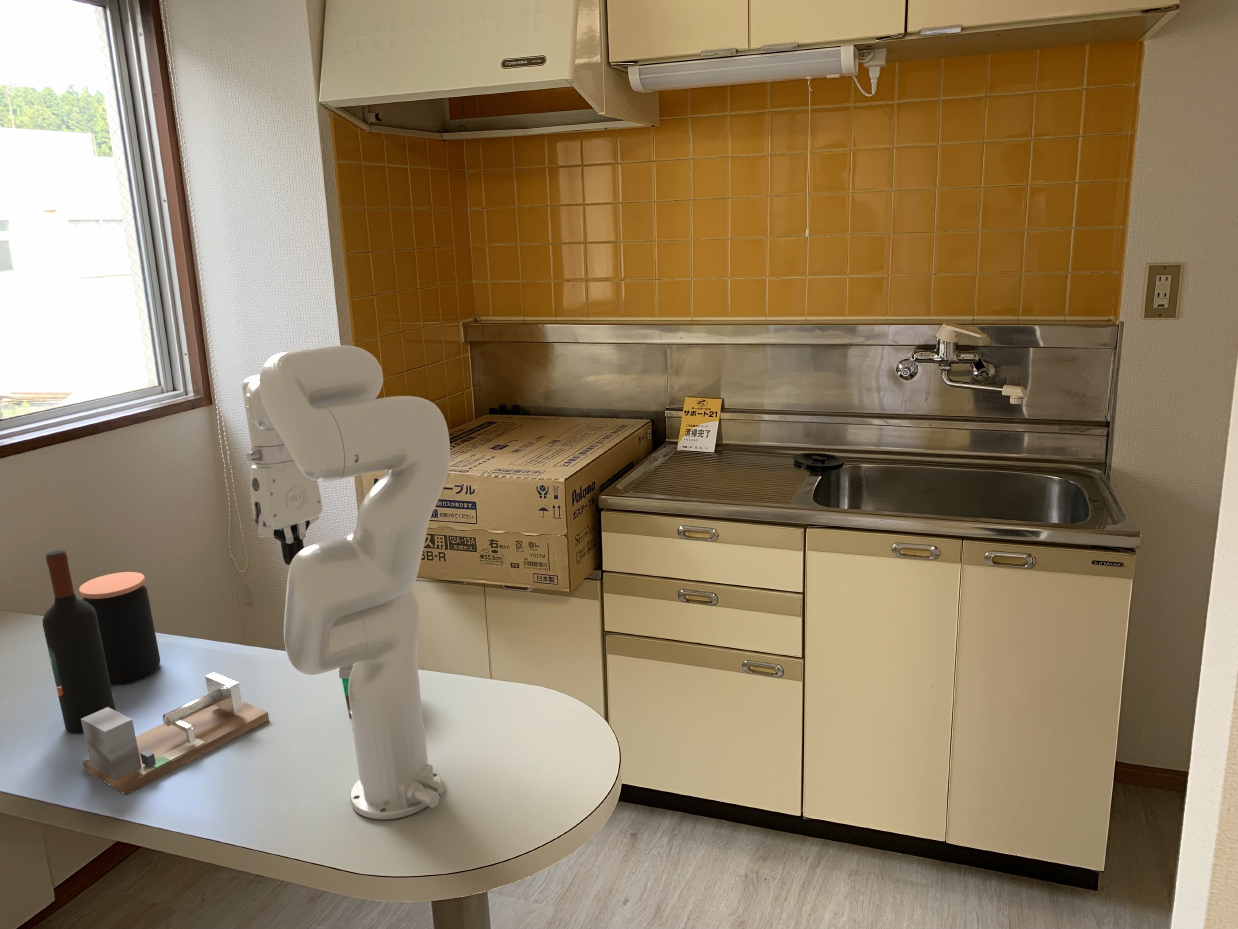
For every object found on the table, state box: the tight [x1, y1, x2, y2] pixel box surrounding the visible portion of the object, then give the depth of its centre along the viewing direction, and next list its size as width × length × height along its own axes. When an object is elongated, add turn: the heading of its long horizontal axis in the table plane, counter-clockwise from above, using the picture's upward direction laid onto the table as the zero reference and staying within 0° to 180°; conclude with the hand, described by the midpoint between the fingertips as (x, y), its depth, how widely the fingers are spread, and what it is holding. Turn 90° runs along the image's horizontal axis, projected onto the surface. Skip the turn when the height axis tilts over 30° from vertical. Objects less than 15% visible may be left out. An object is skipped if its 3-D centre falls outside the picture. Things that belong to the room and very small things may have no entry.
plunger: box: [162, 672, 243, 743], centre depth 150 cm, size 8×11×5 cm
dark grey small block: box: [140, 750, 156, 768], centre depth 140 cm, size 2×1×2 cm, turn 55°
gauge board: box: [81, 700, 270, 795], centre depth 148 cm, size 12×24×10 cm, turn 145°
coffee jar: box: [78, 571, 161, 686], centre depth 172 cm, size 11×11×18 cm
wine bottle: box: [42, 549, 117, 735], centre depth 153 cm, size 8×8×30 cm
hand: (295, 563), depth 151 cm, fingers closed
